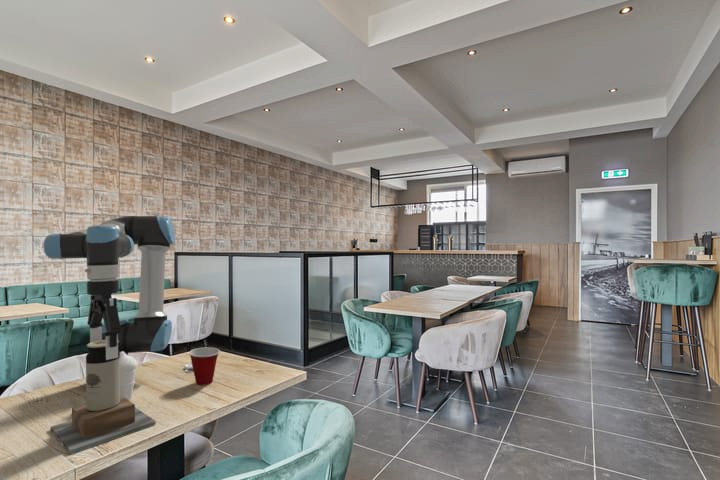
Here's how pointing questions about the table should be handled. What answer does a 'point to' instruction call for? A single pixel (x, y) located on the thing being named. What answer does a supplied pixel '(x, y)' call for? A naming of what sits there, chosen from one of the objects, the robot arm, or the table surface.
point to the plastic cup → (204, 364)
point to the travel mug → (101, 378)
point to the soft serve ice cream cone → (127, 375)
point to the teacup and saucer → (188, 367)
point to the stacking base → (100, 438)
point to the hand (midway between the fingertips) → (103, 354)
